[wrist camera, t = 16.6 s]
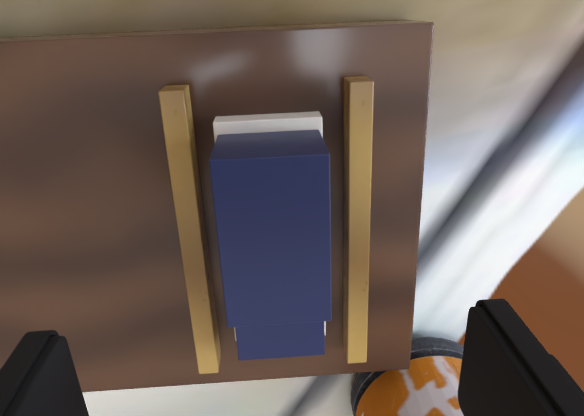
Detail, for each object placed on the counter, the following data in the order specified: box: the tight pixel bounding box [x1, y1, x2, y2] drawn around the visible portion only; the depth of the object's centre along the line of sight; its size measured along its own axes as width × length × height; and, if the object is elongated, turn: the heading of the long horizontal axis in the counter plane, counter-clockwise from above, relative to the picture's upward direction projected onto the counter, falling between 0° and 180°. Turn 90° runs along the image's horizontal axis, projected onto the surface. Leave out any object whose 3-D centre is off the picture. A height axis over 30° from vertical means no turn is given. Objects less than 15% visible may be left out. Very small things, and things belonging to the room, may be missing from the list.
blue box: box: [209, 111, 332, 361], centre depth 21 cm, size 11×4×5 cm, turn 2°
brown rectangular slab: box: [0, 20, 434, 392], centre depth 24 cm, size 18×24×6 cm
